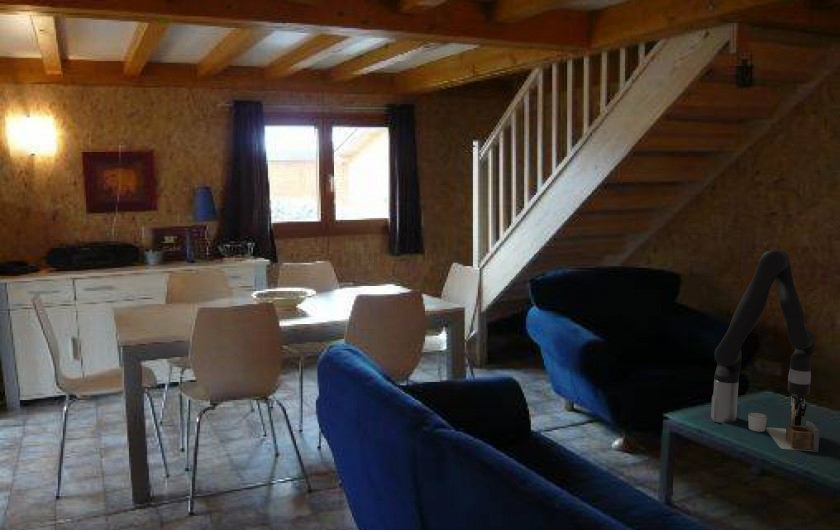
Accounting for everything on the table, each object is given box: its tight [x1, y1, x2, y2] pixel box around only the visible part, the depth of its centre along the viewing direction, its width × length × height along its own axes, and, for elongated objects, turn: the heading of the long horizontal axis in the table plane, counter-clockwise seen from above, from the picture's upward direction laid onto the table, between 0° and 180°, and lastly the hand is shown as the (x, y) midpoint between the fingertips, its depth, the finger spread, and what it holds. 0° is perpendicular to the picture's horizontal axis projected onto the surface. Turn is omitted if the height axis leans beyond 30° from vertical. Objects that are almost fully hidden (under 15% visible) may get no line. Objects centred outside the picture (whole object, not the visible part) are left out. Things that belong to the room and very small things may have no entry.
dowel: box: [790, 403, 802, 426], centre depth 268 cm, size 3×3×12 cm
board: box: [765, 426, 817, 453], centre depth 264 cm, size 12×23×1 cm, turn 167°
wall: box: [805, 420, 821, 453], centre depth 256 cm, size 2×10×8 cm, turn 167°
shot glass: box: [747, 411, 768, 432], centre depth 274 cm, size 7×7×7 cm
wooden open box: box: [785, 424, 814, 449], centre depth 257 cm, size 7×8×6 cm
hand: (796, 423), depth 269 cm, fingers closed on dowel, 3 cm apart
